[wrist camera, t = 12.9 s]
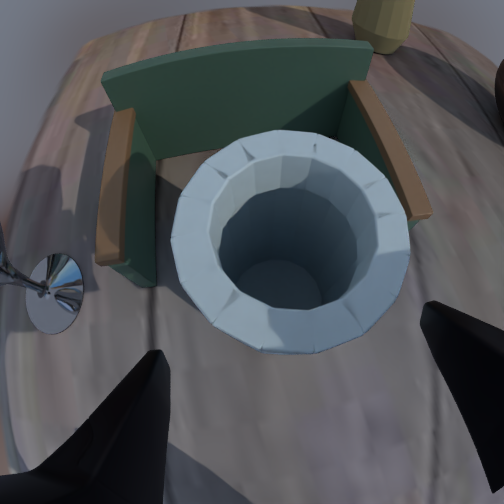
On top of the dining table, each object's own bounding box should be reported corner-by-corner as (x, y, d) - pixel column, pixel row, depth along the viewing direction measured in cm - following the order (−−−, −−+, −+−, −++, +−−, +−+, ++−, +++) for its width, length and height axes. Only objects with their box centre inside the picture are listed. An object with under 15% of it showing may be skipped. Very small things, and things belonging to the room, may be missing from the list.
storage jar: (298, 370, 19) (357, 395, 6) (209, 325, 20) (127, 274, 8) (340, 282, 21) (428, 185, 8) (255, 242, 22) (244, 106, 10)
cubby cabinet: (392, 252, 21) (461, 185, 12) (139, 290, 21) (61, 241, 11) (346, 126, 25) (370, 40, 16) (142, 153, 25) (101, 73, 16)
